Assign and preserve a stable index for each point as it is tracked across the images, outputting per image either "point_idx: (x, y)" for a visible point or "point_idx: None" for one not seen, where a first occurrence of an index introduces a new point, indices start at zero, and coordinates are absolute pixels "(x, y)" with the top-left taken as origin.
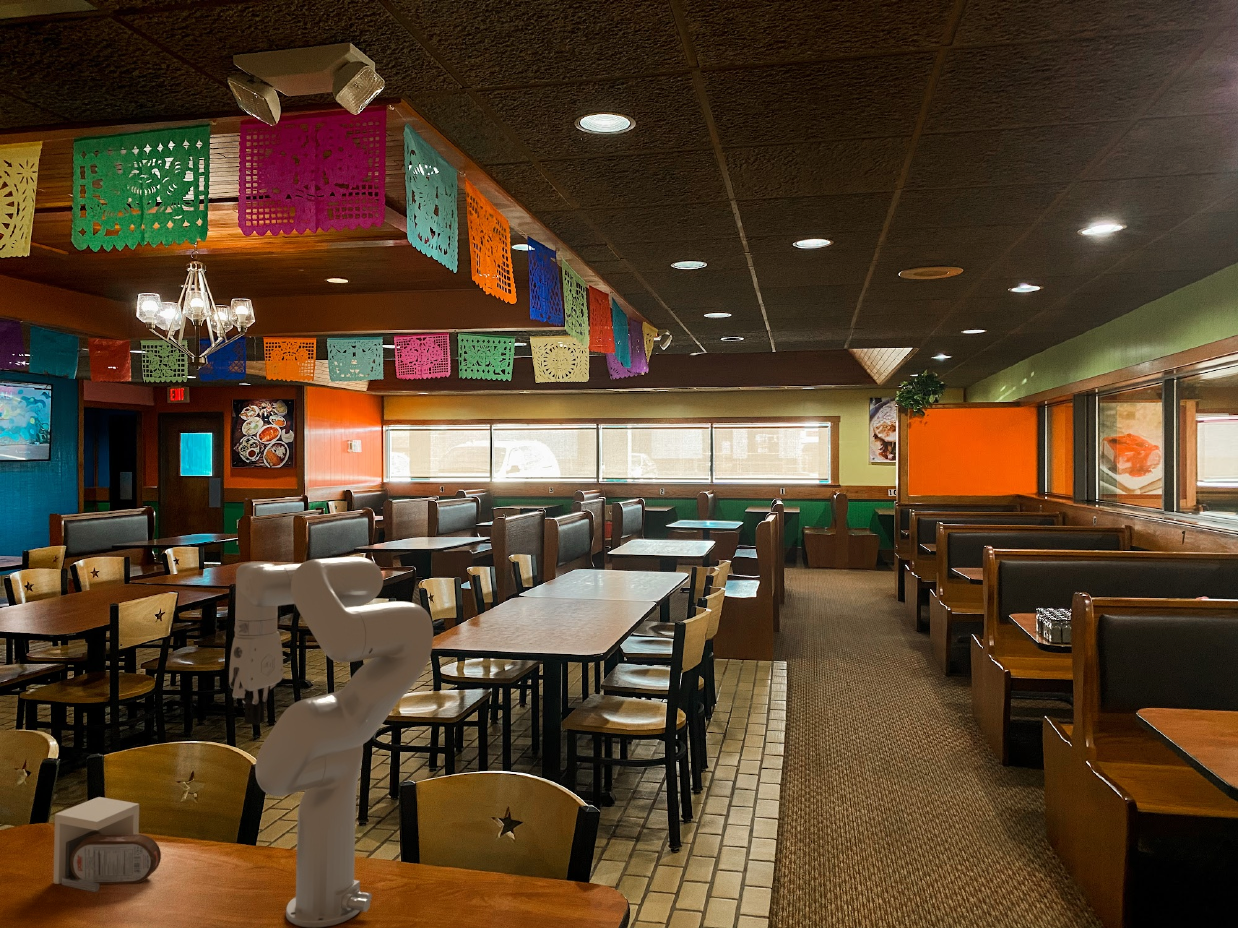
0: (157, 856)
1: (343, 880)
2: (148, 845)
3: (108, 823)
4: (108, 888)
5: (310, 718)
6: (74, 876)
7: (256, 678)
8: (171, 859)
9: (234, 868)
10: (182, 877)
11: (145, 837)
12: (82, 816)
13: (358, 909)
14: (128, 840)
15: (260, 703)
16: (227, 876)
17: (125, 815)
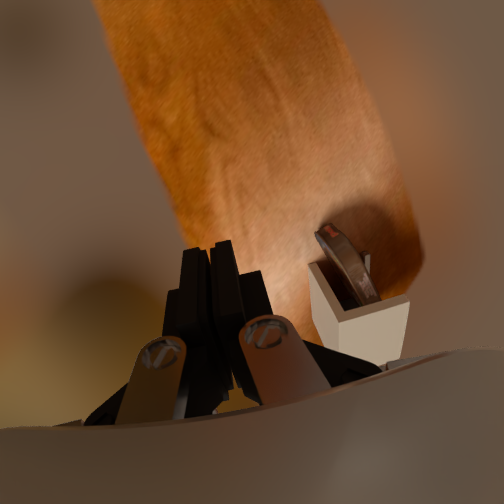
0: (328, 232)
1: None
2: (346, 244)
3: (387, 300)
4: (354, 247)
5: None
6: (351, 299)
7: (486, 482)
8: (264, 260)
9: (235, 158)
10: (294, 197)
11: (343, 262)
12: (399, 331)
13: None
14: (362, 269)
15: (222, 314)
16: (259, 143)
17: (360, 309)
